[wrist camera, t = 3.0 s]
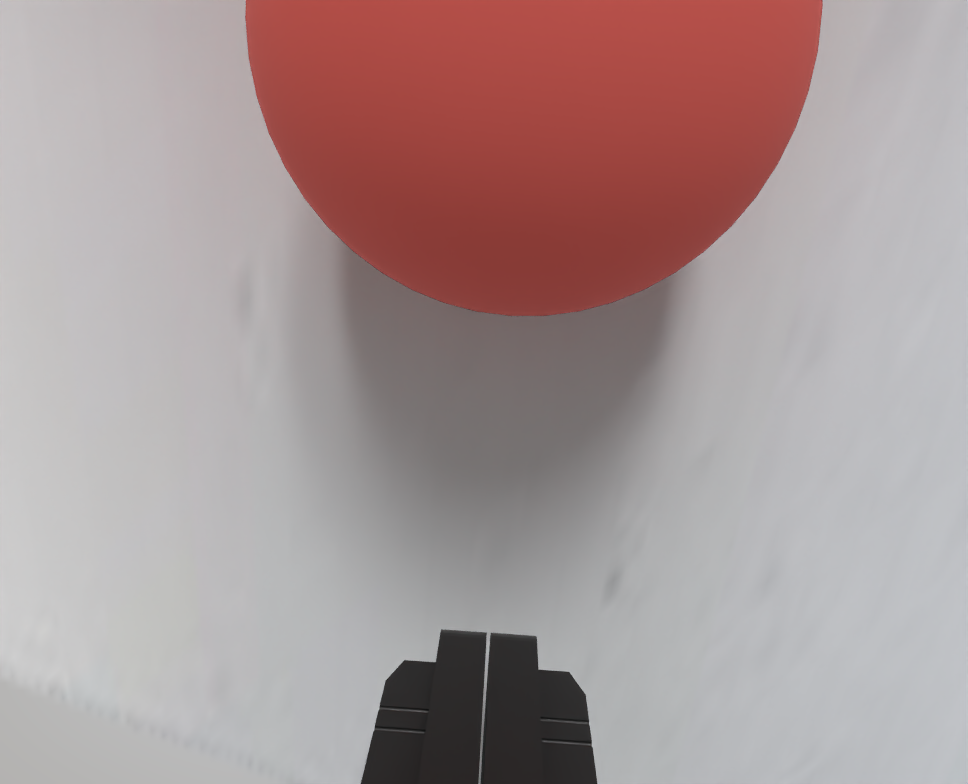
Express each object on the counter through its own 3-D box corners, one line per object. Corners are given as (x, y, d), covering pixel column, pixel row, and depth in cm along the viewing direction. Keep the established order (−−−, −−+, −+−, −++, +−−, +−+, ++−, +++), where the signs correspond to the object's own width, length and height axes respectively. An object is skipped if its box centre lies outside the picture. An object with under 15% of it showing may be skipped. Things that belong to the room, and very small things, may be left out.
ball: (320, -183, 11) (108, -541, 5) (764, -158, 11) (1043, -496, 5) (320, 260, 13) (161, 357, 7) (702, 285, 13) (859, 403, 7)
